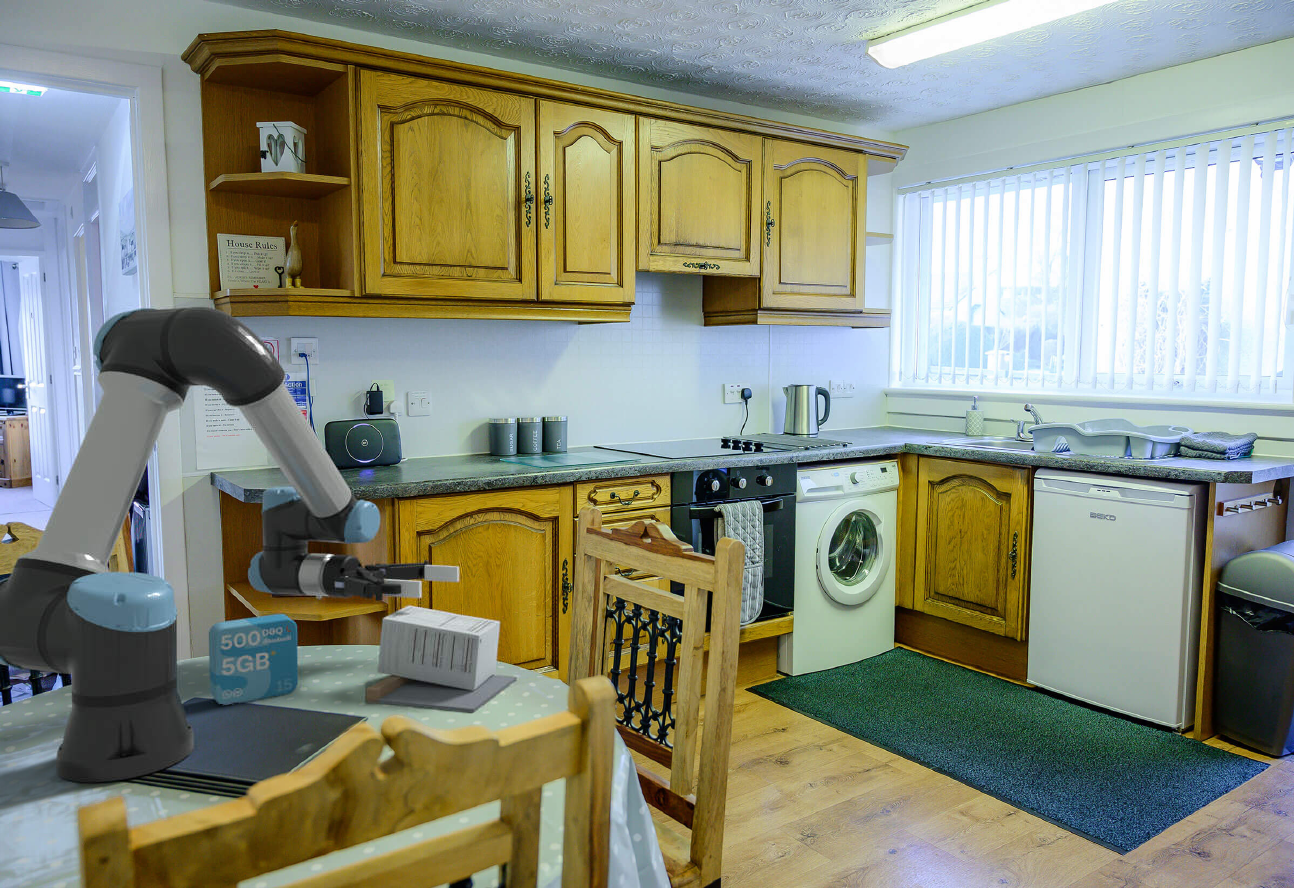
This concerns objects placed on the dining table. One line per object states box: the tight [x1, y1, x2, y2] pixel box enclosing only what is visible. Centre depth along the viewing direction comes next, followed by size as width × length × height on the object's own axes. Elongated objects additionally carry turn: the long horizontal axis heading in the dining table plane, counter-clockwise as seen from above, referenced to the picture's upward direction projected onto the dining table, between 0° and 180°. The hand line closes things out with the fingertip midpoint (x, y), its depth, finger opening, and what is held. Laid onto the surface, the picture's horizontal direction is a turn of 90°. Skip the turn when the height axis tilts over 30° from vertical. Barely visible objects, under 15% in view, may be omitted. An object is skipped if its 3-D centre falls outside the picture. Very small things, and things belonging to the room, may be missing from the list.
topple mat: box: [365, 674, 517, 713], centre depth 140 cm, size 18×16×2 cm
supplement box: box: [377, 605, 501, 691], centre depth 143 cm, size 10×9×17 cm
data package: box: [208, 613, 299, 705], centre depth 137 cm, size 12×4×12 cm, turn 127°
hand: (440, 581), depth 151 cm, fingers open, 13 cm apart
